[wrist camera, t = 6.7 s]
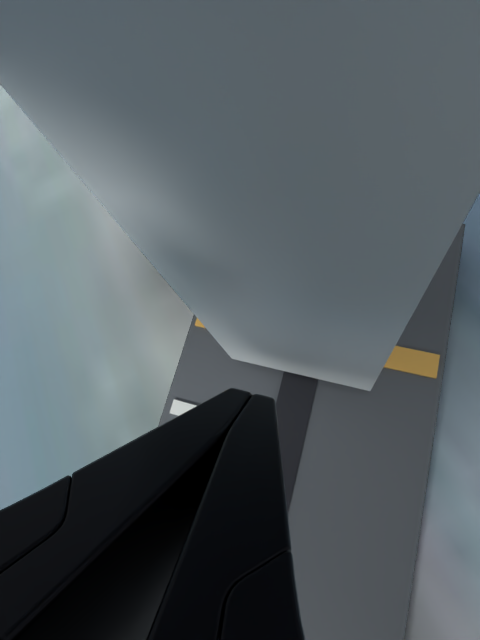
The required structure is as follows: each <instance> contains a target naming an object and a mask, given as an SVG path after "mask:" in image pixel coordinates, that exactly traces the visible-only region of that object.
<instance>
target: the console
mask: <svg viewBox="0 0 480 640" xmlns="http://www.w3.org/2000/svg"><path fill="white" fill-rule="evenodd" d="M464 228H465V224H462V226H461V227H460V229H459V231H458V233H457V235H456V236H455V238H454V240H453V242H452V244H451V246H450V247H449V249H448V251H447V253H446V255H445V256H444V258H443V260H442V262H441V264H440V266H439V267H438V269H437V271H436V273H435V275H434V276H433V278H432V280H431V282H430V284H429V285H428V287H427V289H426V291H425V293H424V295H423V296H422V298H421V300H420V302H419V304H418V305H417V307H416V309H415V311H414V313H413V315H412V316H411V318H410V320H409V322H408V324H407V325H406V327H405V329H404V331H403V333H402V334H401V336H400V338H399V340H398V342H397V344H396V345H395V347H394V349H393V351H392V353H391V354H390V356H389V358H388V360H387V362H386V364H385V365H384V367H383V369H382V371H381V373H380V374H379V376H378V378H377V380H376V382H375V383H374V385H373V387H372V389H371V391H367V390H363V389H358V388H354V387H350V386H346V385H341V384H337V383H333V382H329V381H324V380H320V379H316V378H312V377H307V376H303V375H299V374H295V373H290V372H286V371H282V370H277V369H273V368H269V367H265V366H260V365H256V364H252V363H248V362H243V361H239V360H235V359H232V358H231V357H230V356H229V355H228V354H227V353H226V351H225V350H224V349H223V348H222V347H221V345H220V344H219V343H218V342H217V341H216V340H215V338H214V337H213V336H212V335H211V334H210V332H209V331H208V330H207V329H206V328H205V326H204V325H203V324H202V323H201V322H200V321H199V319H198V318H197V317H196V316H195V315H194V316H193V319H192V322H191V326H190V329H189V332H188V335H187V338H186V341H185V344H184V347H183V350H182V354H181V357H180V360H179V363H178V366H177V369H176V372H175V375H174V379H173V382H172V385H171V388H170V391H169V394H168V397H167V400H166V404H165V407H164V410H163V413H162V416H161V419H160V422H159V425H158V427H159V426H161V425H162V424H164V423H166V422H168V421H170V420H172V419H174V418H175V417H177V416H179V415H181V414H183V413H185V412H187V411H188V410H190V409H192V408H194V407H196V406H198V405H199V404H201V403H203V402H205V401H207V400H209V399H211V398H212V397H214V396H216V395H218V394H220V393H222V392H224V391H225V390H227V389H229V388H237V389H241V390H245V391H248V392H251V394H252V395H253V394H260V395H264V396H268V397H272V398H274V399H275V403H276V412H277V421H278V430H279V439H280V448H281V457H282V466H283V475H284V484H285V493H286V502H287V511H288V520H289V530H290V539H291V548H292V550H291V553H292V555H293V563H294V573H295V581H296V588H297V594H298V601H299V608H300V615H301V621H302V626H303V630H304V635H305V640H404V637H405V630H406V623H407V616H408V609H409V603H410V596H411V589H412V582H413V575H414V569H415V562H416V555H417V548H418V541H419V534H420V528H421V521H422V514H423V507H424V500H425V494H426V487H427V480H428V473H429V466H430V460H431V453H432V446H433V439H434V432H435V426H436V419H437V412H438V405H439V398H440V392H441V385H442V378H443V371H444V364H445V358H446V351H447V344H448V337H449V330H450V324H451V317H452V310H453V303H454V296H455V289H456V283H457V276H458V269H459V262H460V255H461V249H462V242H463V235H464Z"/></svg>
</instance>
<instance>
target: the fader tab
mask: <svg viewBox="0 0 480 640" xmlns="http://www.w3.org/2000/svg"><path fill="white" fill-rule="evenodd" d="M0 85H1V86H2V87H3V88H4V89H5V90H6V92H7V93H8V94H9V95H10V96H11V98H12V99H13V100H14V101H15V102H16V104H17V105H18V106H19V107H20V108H21V109H22V111H23V112H24V113H25V114H26V115H27V117H28V118H29V119H30V120H31V121H32V123H33V124H34V125H35V126H36V127H37V128H38V130H39V131H40V132H41V133H42V134H43V136H44V137H45V138H46V139H47V140H48V141H49V143H50V144H51V145H52V146H53V147H54V149H55V150H56V151H57V152H58V153H59V155H60V156H61V157H62V158H63V159H64V160H65V162H66V163H67V164H68V165H69V166H70V168H71V169H72V170H73V171H74V172H75V173H76V175H77V176H78V177H79V178H80V179H81V181H82V182H83V183H84V184H85V185H86V187H87V188H88V189H89V190H90V191H91V192H92V194H93V195H94V196H95V197H96V198H97V200H98V201H99V202H100V203H101V204H102V206H103V207H104V208H105V209H106V210H107V211H108V213H109V214H110V215H111V216H112V217H113V219H114V220H115V221H116V222H117V223H118V224H119V226H120V227H121V228H122V229H123V230H124V232H125V233H126V234H127V235H128V236H129V238H130V239H131V240H132V241H133V242H134V243H135V245H136V246H137V247H138V248H139V249H140V251H141V252H142V253H143V254H144V255H145V256H146V258H147V259H148V260H149V261H150V262H151V264H152V265H153V266H154V267H155V268H156V270H157V271H158V272H159V273H160V274H161V275H162V277H163V278H164V279H165V280H166V281H167V283H168V284H169V285H170V286H171V287H172V289H173V290H174V291H175V292H176V293H177V294H178V296H179V297H180V298H181V299H182V300H183V302H184V303H185V304H186V305H187V306H188V307H189V309H190V310H191V311H192V312H193V313H194V315H195V316H196V317H197V318H198V319H199V321H200V322H201V323H202V324H203V325H204V326H205V328H206V329H207V330H208V331H209V332H210V334H211V335H212V336H213V337H214V338H215V340H216V341H217V342H218V343H219V344H220V345H221V347H222V348H223V349H224V350H225V351H226V353H227V354H228V355H229V356H230V357H231V358H232V359H235V360H239V361H243V362H248V363H252V364H256V365H260V366H265V367H269V368H273V369H277V370H282V371H286V372H290V373H295V374H299V375H303V376H307V377H312V378H316V379H320V380H324V381H329V382H333V383H337V384H341V385H346V386H350V387H354V388H358V389H363V390H367V391H371V389H372V387H373V385H374V383H375V382H376V380H377V378H378V376H379V374H380V373H381V371H382V369H383V367H384V365H385V364H386V362H387V360H388V358H389V356H390V354H391V353H392V351H393V349H394V347H395V345H396V344H397V342H398V340H399V338H400V336H401V334H402V333H403V331H404V329H405V327H406V325H407V324H408V322H409V320H410V318H411V316H412V315H413V313H414V311H415V309H416V307H417V305H418V304H419V302H420V300H421V298H422V296H423V295H424V293H425V291H426V289H427V287H428V285H429V284H430V282H431V280H432V278H433V276H434V275H435V273H436V271H437V269H438V267H439V266H440V264H441V262H442V260H443V258H444V256H445V255H446V253H447V251H448V249H449V247H450V246H451V244H452V242H453V240H454V238H455V236H456V235H457V233H458V231H459V229H460V227H461V226H462V224H463V222H464V220H465V218H466V217H467V215H468V213H469V211H470V209H471V207H472V206H473V204H474V202H475V200H476V198H477V197H478V195H479V193H480V0H0Z"/></svg>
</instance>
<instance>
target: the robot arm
mask: <svg viewBox="0 0 480 640" xmlns="http://www.w3.org/2000/svg"><path fill="white" fill-rule="evenodd" d="M291 550H292V548H291V539H290V530H289V520H288V511H287V502H286V493H285V484H284V475H283V466H282V457H281V448H280V439H279V430H278V421H277V412H276V403H275V399H274V398H272V397H268V396H264V395H260V394H253V395H252V394H251V392H248V391H245V390H241V389H237V388H229V389H227V390H225V391H224V392H222V393H220V394H218V395H216V396H214V397H212V398H211V399H209V400H207V401H205V402H203V403H201V404H199V405H198V406H196V407H194V408H192V409H190V410H188V411H187V412H185V413H183V414H181V415H179V416H177V417H175V418H174V419H172V420H170V421H168V422H166V423H164V424H162V425H161V426H159V427H157V428H155V429H153V430H151V431H150V432H148V433H146V434H144V435H142V436H140V437H138V438H137V439H135V440H133V441H131V442H129V443H127V444H125V445H124V446H122V447H120V448H118V449H116V450H114V451H112V452H111V453H109V454H107V455H105V456H103V457H101V458H100V459H98V460H96V461H94V462H92V463H90V464H88V465H87V466H85V467H83V468H81V469H79V470H77V471H75V472H74V473H73V474H72V478H71V476H66V477H64V478H62V479H60V480H58V481H57V482H55V483H53V484H51V485H49V486H47V487H45V488H44V489H42V490H40V491H38V492H36V493H34V494H32V495H30V496H28V497H26V498H24V499H22V500H20V501H18V502H16V503H14V504H12V505H10V506H8V507H6V508H4V509H2V510H0V640H305V635H304V630H303V626H302V621H301V615H300V608H299V601H298V594H297V588H296V581H295V573H294V563H293V555H292V553H291Z"/></svg>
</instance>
